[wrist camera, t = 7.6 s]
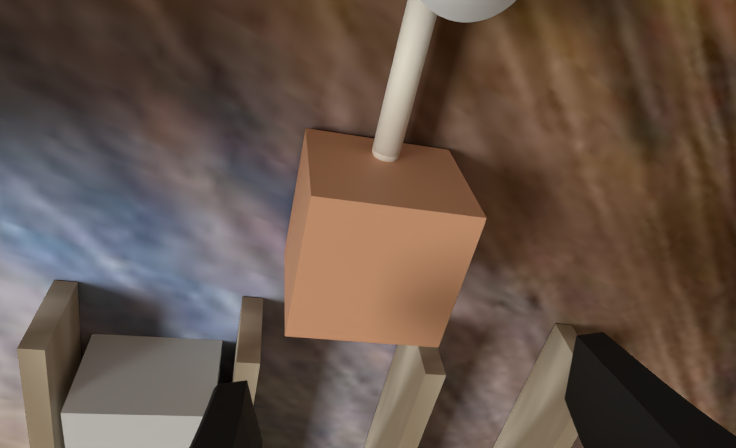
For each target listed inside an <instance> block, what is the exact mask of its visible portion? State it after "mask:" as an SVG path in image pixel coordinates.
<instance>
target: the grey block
mask: <svg viewBox="0 0 736 448" xmlns="http://www.w3.org/2000/svg"><path fill="white" fill-rule="evenodd" d="M221 354H222V340H208V339H187V338H166V337H145V336H125V335H104V334H92V336H91V338H90V341H89V343H88V346H87V348H86V351H85V353H84V356H83V358H82V361H81V363H80V366H79V368H78V371H77V373H76V376H75V378H74V381H73V383H72V386H71V388H70V391H69V393H68V396H67V398H66V401H65V403H64V406H63V408H62V411H61V420H62V428H63V435H64V443H65V448H189V447H190V445H191V443H192V440H193V438H194V436H195V434H196V432H197V429H198V427H199V425H200V422H201V420H202V418H203V415H204V413H205V410H206V408H207V405H208V403H209V400H210V398H211V395H212V392H213V389H214V388H215V387H216V386H217V385H218V384H219V382H220V368H221Z"/></svg>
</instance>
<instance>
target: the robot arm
mask: <svg viewBox="0 0 736 448" xmlns="http://www.w3.org/2000/svg"><path fill="white" fill-rule="evenodd" d="M564 399H565V402H566V404H567V407H568V410H569V412H570V415H571V418H572V420H573V423H574V426H575V428H576V431H577V433H578V435H579V438H580V440H581V443H582V445H583V447H584V448H736V436H735V435H733V434H732V433H731V432H729V431H728V430H726V429H725V428H723V427H722V426H721V425H719V424H718V423H716V422H715V421H714V420H712V419H711V418H710V417H708V416H707V415H706V414H704V413H703V412H702V411H700V410H699V409H697V408H696V407H695V406H694V405H692V404H691V403H690V402H688V401H687V400H686V399H685V398H683V397H682V396H681V395H679V394H678V393H677V392H676V391H674V390H673V389H672V388H670V387H669V386H668V385H667V384H665V383H664V382H663V381H662V380H660V379H659V378H658V377H657V376H656V375H654V374H653V373H652V372H651V371H649V370H648V369H647V368H646V367H645V366H643V365H642V364H641V363H640V362H639V361H637V360H636V359H635V358H634V357H633V356H631V355H630V354H629V353H628V352H627V351H625V350H624V349H623V348H622V347H621V346H619V345H618V344H617V343H616V342H614V341H613V340H612V339H611V338H610V337H608V336H607V335H606V334H605V333H603V332H600V333H593V334H586V335H578V336H576V340H575V345H574V351H573V356H572V361H571V367H570V372H569V377H568V382H567V388H566V393H565V398H564ZM189 448H262V439H261V434H260V430H259V426H258V422H257V418H256V414H255V410H254V406H253V402H252V398H251V394H250V390H249V386H248V382H247V380H245V381H237V382H230V383H223V384H218V385H217V386H216V387H215V388H214V389H213V392H212V395H211V398H210V400H209V403H208V405H207V408H206V410H205V413H204V415H203V418H202V420H201V422H200V425H199V427H198V429H197V432H196V434H195V436H194V438H193V440H192V443H191V445H190V447H189Z"/></svg>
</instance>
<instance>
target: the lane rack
mask: <svg viewBox="0 0 736 448" xmlns="http://www.w3.org/2000/svg"><path fill="white" fill-rule="evenodd" d="M262 315H263V298H253V297H243V298H242V305H241V313H240V321H239V328H238V336H237V343H236V351H235V359H234V366H233V374H232V381H231V382H237V381H245V380H247V382H248V386H249V390H250V394H251V398H252V402H253V405H254V399H255V393H256V387H257V381H258V374H259V368H260V358H261V337H262ZM576 336H578V335H577V333H576V332H575V330H574V328H573V327H572V325H565V324H555V325H554V327H553V329H552V331H551V333H550V335H549V337H548V339H547V341H546V343H545V345H544V347H543V349H542V351H541V353H540V355H539V357H538V359H537V361H536V363H535V365H534V367H533V369H532V371H531V373H530V375H529V377H528V379H527V381H526V383H525V385H524V387H523V389H522V391H521V393H520V395H519V397H518V399H517V401H516V403H515V405H514V407H513V409H512V411H511V413H510V415H509V417H508V419H507V421H506V423H505V425H504V427H503V429H502V431H501V433H500V435H499V437H498V439H497V441H496V443H495V445H494V447H493V448H571V446H572V445H573V443H574V441H575V440H576V438H577V436H578V433H577V431H576V428H575V426H574V423H573V420H572V418H571V415H570V412H569V410H568V407H567V404H566V402H565V399H564V398H565V393H566V388H567V382H568V377H569V372H570V367H571V361H572V356H573V351H574V345H575V340H576ZM17 352H18V359H19V367H20V375H21V382H22V390H23V398H24V405H25V413H26V421H27V428H28V436H29V443H30V448H65V443H64V435H63V428H62V420H61V411H62V408H63V406H64V403H65V401H66V398H67V396H68V393H69V391H70V388H71V386H72V383H73V381H74V378H75V376H76V373H77V371H78V368H79V366H80V363H81V361H82V356H81V338H80V319H79V301H78V282H69V281H57V280H54V281H53V283H52V285H51V287H50V288H49V290H48V292H47V294H46V296H45V298H44V300H43V301H42V303H41V305H40V307H39V309H38V311H37V313H36V314H35V316H34V318H33V320H32V322H31V324H30V326H29V327H28V329H27V331H26V333H25V335H24V337H23V339H22V340H21V342H20V344H19V346H18V348H17ZM445 377H446V373H445V370H444V367H443V363H442V360H441V357H440V354H439V351H438V347H424V346H411V345H397V348H396V351H395V354H394V357H393V360H392V363H391V366H390V369H389V372H388V376H387V379H386V382H385V385H384V388H383V391H382V394H381V397H380V400H379V403H378V406H377V409H376V413H375V416H374V419H373V422H372V425H371V428H370V431H369V434H368V437H367V440H366V443H365V447H364V448H418V445H419V443H420V440H421V438H422V435H423V433H424V430H425V428H426V425H427V423H428V420H429V418H430V415H431V412H432V410H433V407H434V405H435V402H436V400H437V397H438V395H439V392H440V390H441V387H442V385H443V382H444V380H445Z"/></svg>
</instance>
